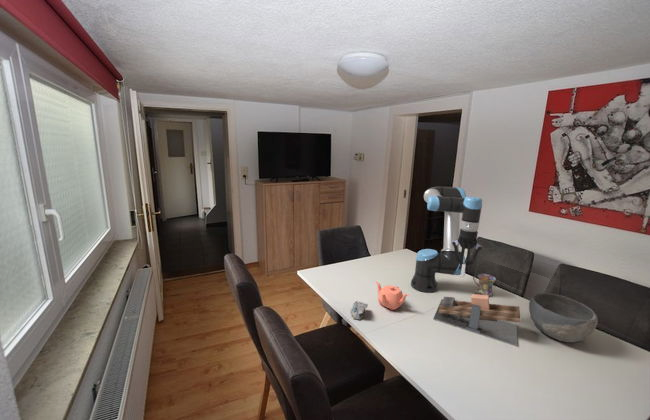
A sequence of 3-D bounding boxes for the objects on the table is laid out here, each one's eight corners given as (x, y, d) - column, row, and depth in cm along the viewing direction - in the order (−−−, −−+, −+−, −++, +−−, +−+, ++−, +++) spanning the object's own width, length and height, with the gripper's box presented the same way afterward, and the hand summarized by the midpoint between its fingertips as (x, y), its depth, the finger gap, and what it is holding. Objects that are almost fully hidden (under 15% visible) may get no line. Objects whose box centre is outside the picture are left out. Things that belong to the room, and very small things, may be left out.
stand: (433, 319, 141) (436, 296, 138) (440, 303, 156) (442, 282, 153) (517, 346, 123) (522, 320, 120) (516, 325, 138) (520, 301, 135)
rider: (472, 311, 137) (471, 297, 136) (473, 307, 141) (472, 293, 140) (489, 313, 133) (487, 299, 133) (489, 309, 137) (488, 295, 136)
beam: (438, 317, 142) (437, 304, 142) (443, 306, 153) (442, 294, 152) (521, 328, 124) (519, 312, 123) (520, 314, 134) (518, 300, 133)
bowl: (575, 359, 117) (583, 326, 113) (514, 326, 138) (519, 298, 135) (602, 342, 128) (610, 312, 125) (541, 314, 149) (546, 287, 146)
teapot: (407, 313, 146) (409, 293, 144) (380, 312, 146) (381, 293, 143) (399, 298, 160) (400, 280, 158) (374, 298, 160) (375, 280, 157)
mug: (495, 294, 168) (498, 277, 166) (489, 299, 162) (492, 282, 160) (474, 286, 177) (477, 270, 175) (468, 291, 171) (470, 274, 169)
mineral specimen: (353, 322, 145) (371, 323, 140) (345, 317, 140) (364, 318, 135) (355, 303, 151) (373, 303, 145) (348, 298, 145) (366, 298, 140)
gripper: (452, 229, 134) (446, 275, 139) (484, 234, 127) (476, 282, 132) (455, 225, 140) (449, 270, 145) (485, 230, 134) (478, 277, 139)
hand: (462, 276), depth 139 cm, fingers closed
